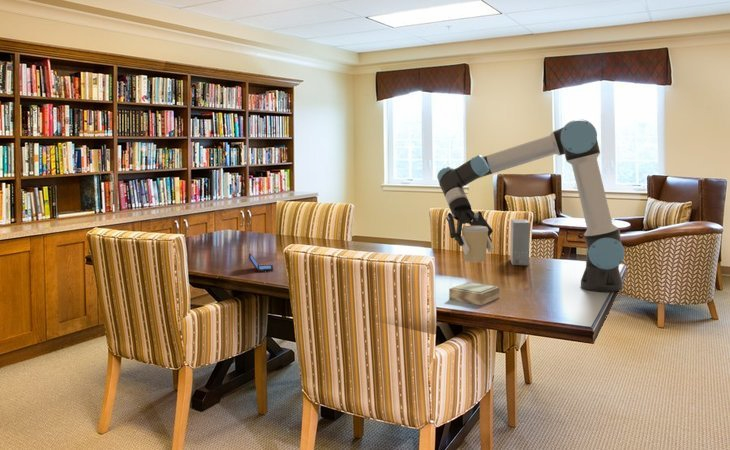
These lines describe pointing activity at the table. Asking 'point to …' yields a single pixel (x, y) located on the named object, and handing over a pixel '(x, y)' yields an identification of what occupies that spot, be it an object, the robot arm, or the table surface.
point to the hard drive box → (519, 242)
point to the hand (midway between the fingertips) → (479, 251)
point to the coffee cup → (475, 243)
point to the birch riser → (474, 293)
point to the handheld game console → (260, 267)
